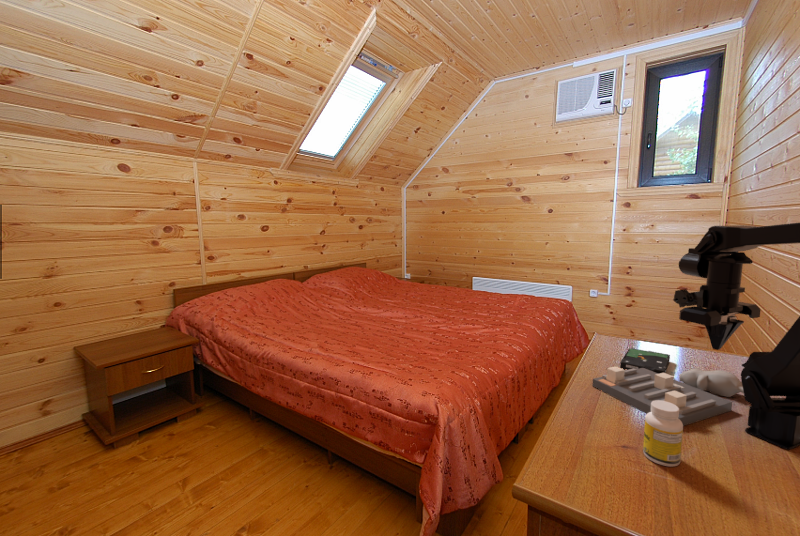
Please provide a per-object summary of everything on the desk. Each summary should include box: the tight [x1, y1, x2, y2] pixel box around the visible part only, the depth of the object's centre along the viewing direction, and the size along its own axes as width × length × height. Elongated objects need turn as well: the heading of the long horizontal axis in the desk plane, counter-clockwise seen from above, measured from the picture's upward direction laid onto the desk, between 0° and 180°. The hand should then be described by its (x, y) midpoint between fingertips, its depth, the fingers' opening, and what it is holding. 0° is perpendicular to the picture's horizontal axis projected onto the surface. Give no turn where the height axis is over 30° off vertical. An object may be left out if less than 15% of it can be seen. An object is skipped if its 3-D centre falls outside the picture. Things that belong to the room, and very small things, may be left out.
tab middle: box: [654, 372, 675, 390], centre depth 86 cm, size 2×3×3 cm
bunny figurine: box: [678, 368, 744, 398], centre depth 88 cm, size 10×5×15 cm
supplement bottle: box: [642, 400, 684, 468], centre depth 64 cm, size 5×5×10 cm
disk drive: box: [619, 347, 671, 374], centre depth 104 cm, size 10×3×15 cm
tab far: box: [606, 365, 625, 384], centre depth 90 cm, size 2×3×3 cm
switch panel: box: [592, 368, 733, 427], centre depth 85 cm, size 20×18×3 cm
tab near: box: [665, 390, 687, 409], centre depth 77 cm, size 2×3×3 cm
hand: (716, 349), depth 83 cm, fingers closed
